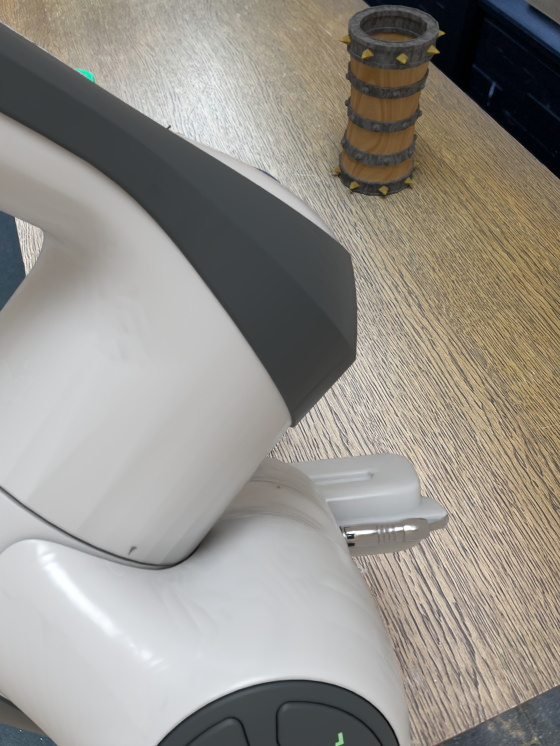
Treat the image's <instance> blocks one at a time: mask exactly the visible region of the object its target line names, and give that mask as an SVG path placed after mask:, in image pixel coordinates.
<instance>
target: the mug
mask: <svg viewBox="0 0 560 746" xmlns="http://www.w3.org/2000/svg"><path fill="white" fill-rule="evenodd" d="M347 24H348V25H347V33H348V34H346V35H345V36H343V37H341V38H340V39H338V40H337V41H338V42H340V43H343V44H345V45H346V51H347V53H348V54H349V61H348V63H347V73H345V79H346V80H347V81H349V83H350V96H349V97H348V98H347V99H346V100H345V101H344V106H345V107H346V108H347V110H346V116H347V117H348V119H347V125H346V127H345V130H344V133H343V136H342V139H341V140H340V146H341V148H340V151H341V152H340V153H339V155H338V166H337V167H334V168H332V169H330V171H331V172H333V173H337V177H338V178H339V180H340V181H341V183H342V185H344V186H345V187H347V188H348V189H349V190H351V191H353V192H356V193H359V194H363V195H366V196H379V197H384V196H389V195H395V194H398V193H399V192H401V191H402V190H404V189H406V188H408V186H410V185H415V184H416V183H415V182H414V181H413V172H414V169H415V167H416V166H418V165H420V164H421V162H418V161H416V160H415V158H414V156H413V155H414V153H415V151H416V140H417V139H418V134H416V133H415V127H416V122H417V120H418V119H419V118H421V117H422V115H423V110H421V107H420V98H421V93H422V91H423V90H424V88H425V87H426V81H427V80H428V76H429V74H430V68H429V64H430V62H431V60H432V59H433V57H434V56H435V55H438V54H440V53H441V52H440V51H439V50H438V49H437V45H436V43H437V38H439V37H441V36H443V35H445V34H446V33H445V31H442V30H441V29H440V26H439V25H440V24H439V22H438V21H437V20H436V19H435V18H434V17H433V16H432V15H431V14H430V13H427V12H425V11H423V10H420V9H419V8H415V7H409V6H404V5H398V4H397V5H395V4H394V5H392V4H382V5H376V6H370V7H369V6H368V7H366V8H364V9H362V10H361V9H360V10H359V11H357V12H355V13H353V15H352V16H351V17H350V18H349V19H348V23H347Z"/></svg>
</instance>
